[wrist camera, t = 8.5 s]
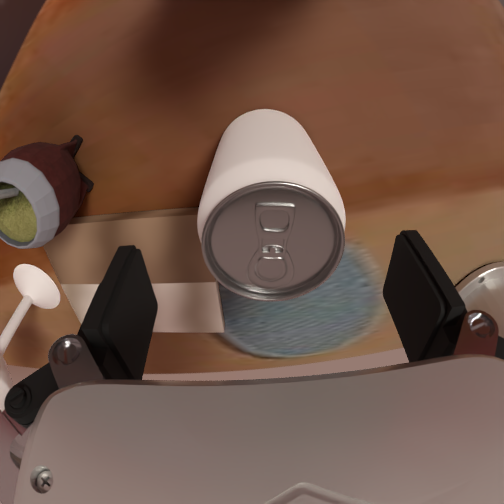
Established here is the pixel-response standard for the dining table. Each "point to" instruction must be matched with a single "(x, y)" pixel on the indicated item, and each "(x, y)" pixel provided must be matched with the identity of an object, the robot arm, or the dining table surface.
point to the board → (156, 260)
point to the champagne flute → (34, 292)
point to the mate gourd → (39, 192)
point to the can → (270, 210)
